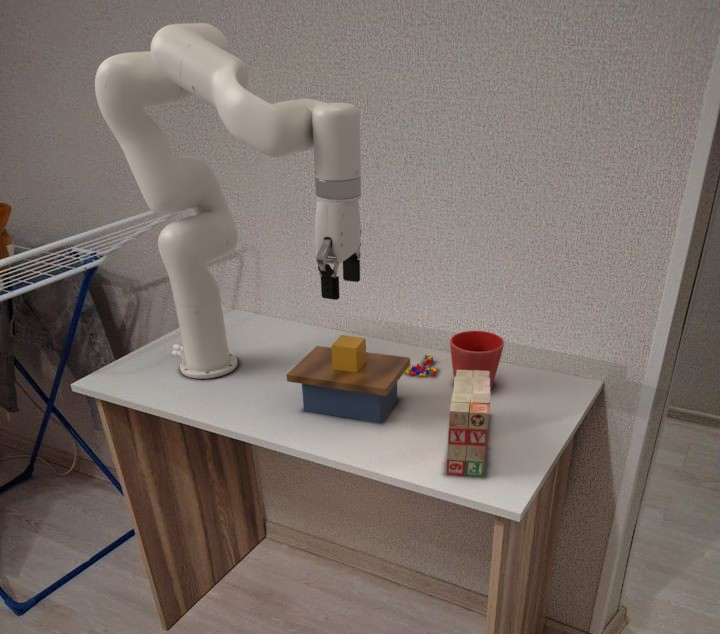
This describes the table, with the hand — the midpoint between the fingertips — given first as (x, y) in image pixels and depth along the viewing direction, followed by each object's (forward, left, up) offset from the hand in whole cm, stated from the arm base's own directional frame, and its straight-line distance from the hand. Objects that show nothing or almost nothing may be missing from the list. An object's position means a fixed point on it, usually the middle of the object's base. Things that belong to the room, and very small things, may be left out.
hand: (341, 289), depth 122 cm
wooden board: (+1, -1, -16) cm, 16 cm away
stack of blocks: (+26, -8, -23) cm, 36 cm away
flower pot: (+22, +15, -23) cm, 36 cm away
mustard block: (+1, -1, -15) cm, 15 cm away
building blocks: (+10, +19, -23) cm, 32 cm away
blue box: (+1, -1, -23) cm, 23 cm away
